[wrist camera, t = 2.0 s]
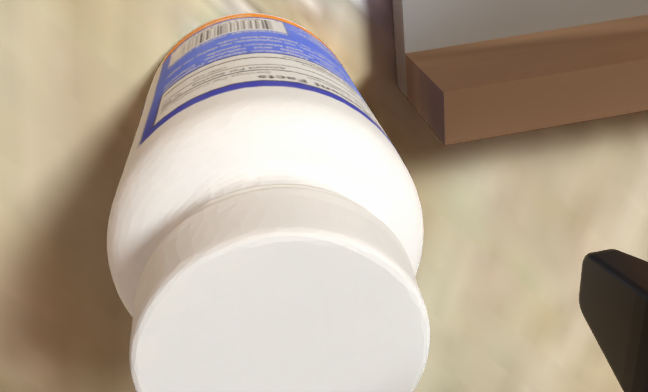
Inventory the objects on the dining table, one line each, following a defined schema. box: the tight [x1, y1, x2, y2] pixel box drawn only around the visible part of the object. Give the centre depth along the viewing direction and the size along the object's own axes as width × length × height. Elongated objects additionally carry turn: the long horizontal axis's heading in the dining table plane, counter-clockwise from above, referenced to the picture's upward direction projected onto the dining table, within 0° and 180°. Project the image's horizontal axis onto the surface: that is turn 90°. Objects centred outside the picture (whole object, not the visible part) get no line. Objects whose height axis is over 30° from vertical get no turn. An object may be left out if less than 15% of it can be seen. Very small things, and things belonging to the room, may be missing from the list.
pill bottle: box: [107, 13, 430, 392], centre depth 12 cm, size 5×5×10 cm
